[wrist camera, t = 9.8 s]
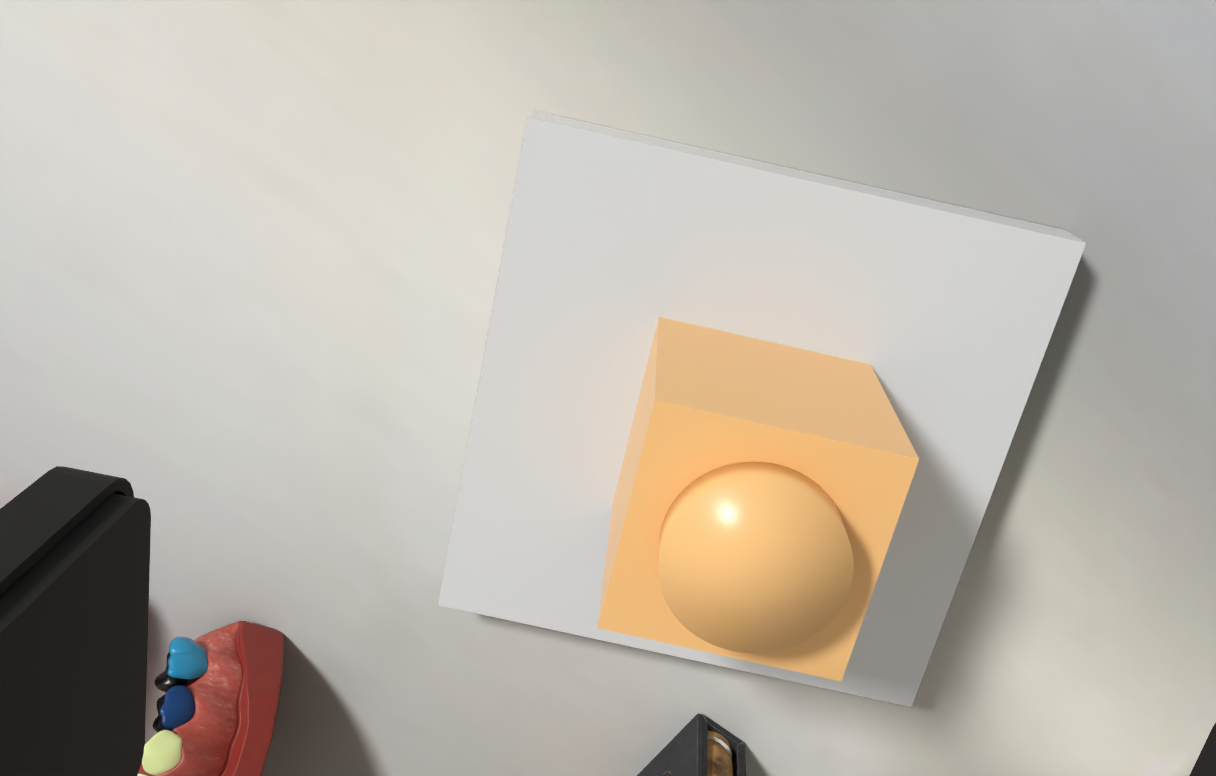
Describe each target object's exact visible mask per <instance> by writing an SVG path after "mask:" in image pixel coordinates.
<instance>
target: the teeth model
mask: <svg viewBox="0 0 1216 776" xmlns="http://www.w3.org/2000/svg"><path fill="white" fill-rule="evenodd" d="M283 659H284V634H283V633H282V632H280V631H278V630H275V629H272V628H268V627H264V626H261V625H257V624H253V623H250V622H246V621H239V622H235V623H232V624H230V625H227V626H224V627H222V628H219V629H217V630H214V631H211V632H209V633H207V634H205V635H202V636H201V637H199V638H197V639H195V640H194V641H193V640H192V639H190V638H187V637H177V638H175V639H173V640H172V642H171V643H170V647H169V653H168V654H167V666H166V670H165V671H164V672H163V673H162V674H160V675H159V676H158V677H157V678H156V679H155V686H156V687H157V688H158V689H159V690H161V691H164V692H166V694H165V695H164V696H162V697H161V698H159V699H158V701H157V710H158V714H159V716H158V717H157V718H156V719H155V720H154V723H153V728H154V729H155V730H156V731H157V732H158V733H157V734H156V735H154V736H153V737H152V738H151V739H150V740H149V741H148V742H147V743H146V744H145V745H144V754H143V758H142V763H141V766H140V769H139V772H138V775H137V776H261V775H262V772H263V768H264V765H265V761H266V757H267V754H268V750H269V747H270V744H271V740H272V735H273V730H274V725H275V720H276V714H277V709H278V703H279V697H280V690H281V682H282V673H283Z"/></svg>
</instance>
